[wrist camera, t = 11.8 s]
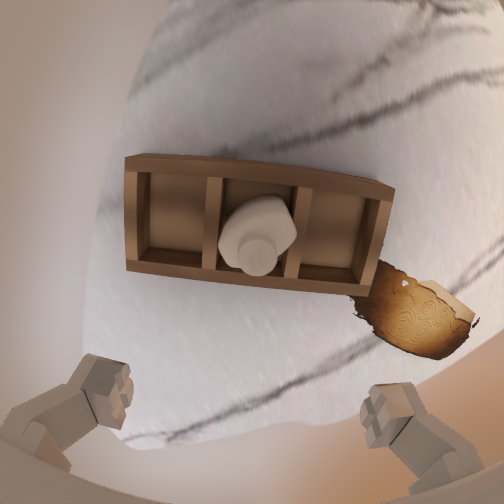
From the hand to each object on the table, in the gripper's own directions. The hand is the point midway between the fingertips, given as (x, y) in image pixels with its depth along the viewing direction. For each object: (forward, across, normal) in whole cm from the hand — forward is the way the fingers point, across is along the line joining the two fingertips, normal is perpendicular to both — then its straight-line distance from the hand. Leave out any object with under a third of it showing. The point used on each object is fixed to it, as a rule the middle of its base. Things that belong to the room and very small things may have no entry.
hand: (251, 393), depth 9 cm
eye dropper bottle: (+21, 0, 0) cm, 21 cm away
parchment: (+22, -22, +10) cm, 33 cm away
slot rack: (+22, 0, 0) cm, 22 cm away
